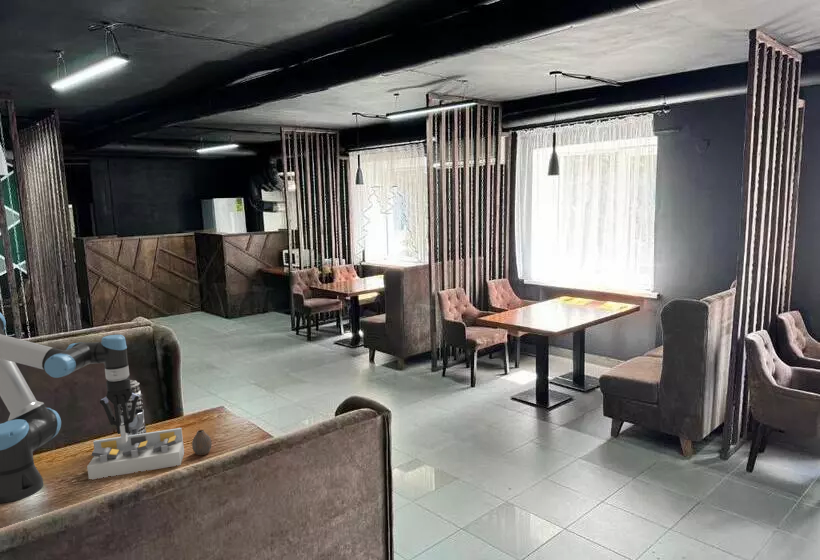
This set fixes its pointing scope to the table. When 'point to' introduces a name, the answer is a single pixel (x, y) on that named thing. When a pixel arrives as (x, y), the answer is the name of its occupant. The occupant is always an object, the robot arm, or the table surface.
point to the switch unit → (137, 454)
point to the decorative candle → (136, 390)
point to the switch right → (165, 443)
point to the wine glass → (135, 421)
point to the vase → (201, 443)
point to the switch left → (105, 452)
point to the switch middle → (136, 447)
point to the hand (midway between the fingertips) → (124, 441)
